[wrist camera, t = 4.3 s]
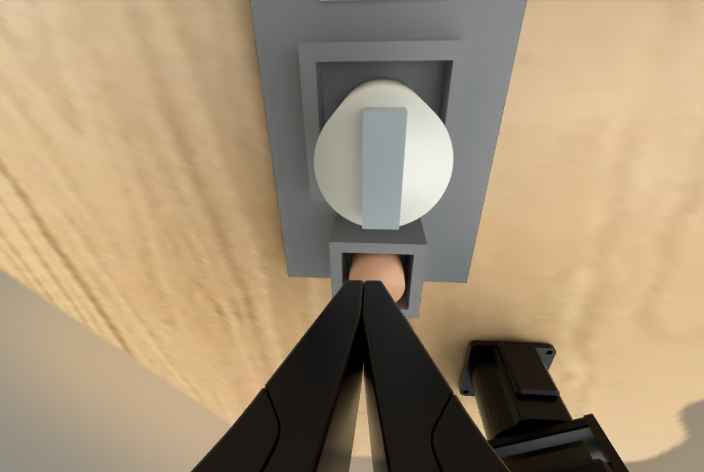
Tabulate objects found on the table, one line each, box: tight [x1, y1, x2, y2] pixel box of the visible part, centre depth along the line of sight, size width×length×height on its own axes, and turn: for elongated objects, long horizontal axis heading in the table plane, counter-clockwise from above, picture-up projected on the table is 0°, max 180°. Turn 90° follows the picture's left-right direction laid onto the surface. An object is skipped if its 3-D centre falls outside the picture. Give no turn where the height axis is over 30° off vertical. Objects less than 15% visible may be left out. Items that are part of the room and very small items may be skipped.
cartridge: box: [314, 77, 453, 230], centre depth 13 cm, size 4×4×8 cm
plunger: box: [349, 253, 405, 302], centre depth 18 cm, size 3×3×3 cm
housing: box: [250, 0, 527, 318], centre depth 15 cm, size 21×12×5 cm, turn 1°
